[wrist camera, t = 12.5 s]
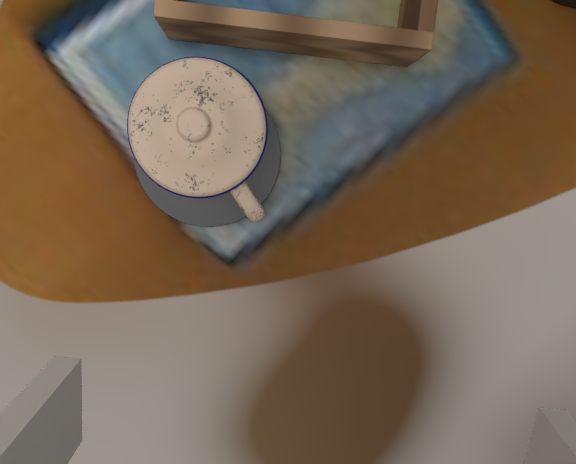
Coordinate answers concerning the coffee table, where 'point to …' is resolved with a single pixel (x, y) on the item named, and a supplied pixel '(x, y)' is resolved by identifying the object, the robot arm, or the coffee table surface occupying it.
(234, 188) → the teacup with lid
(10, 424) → the robot arm
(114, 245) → the coffee table surface
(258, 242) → the coffee table surface
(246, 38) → the open wooden keepsake box
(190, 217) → the trivet
